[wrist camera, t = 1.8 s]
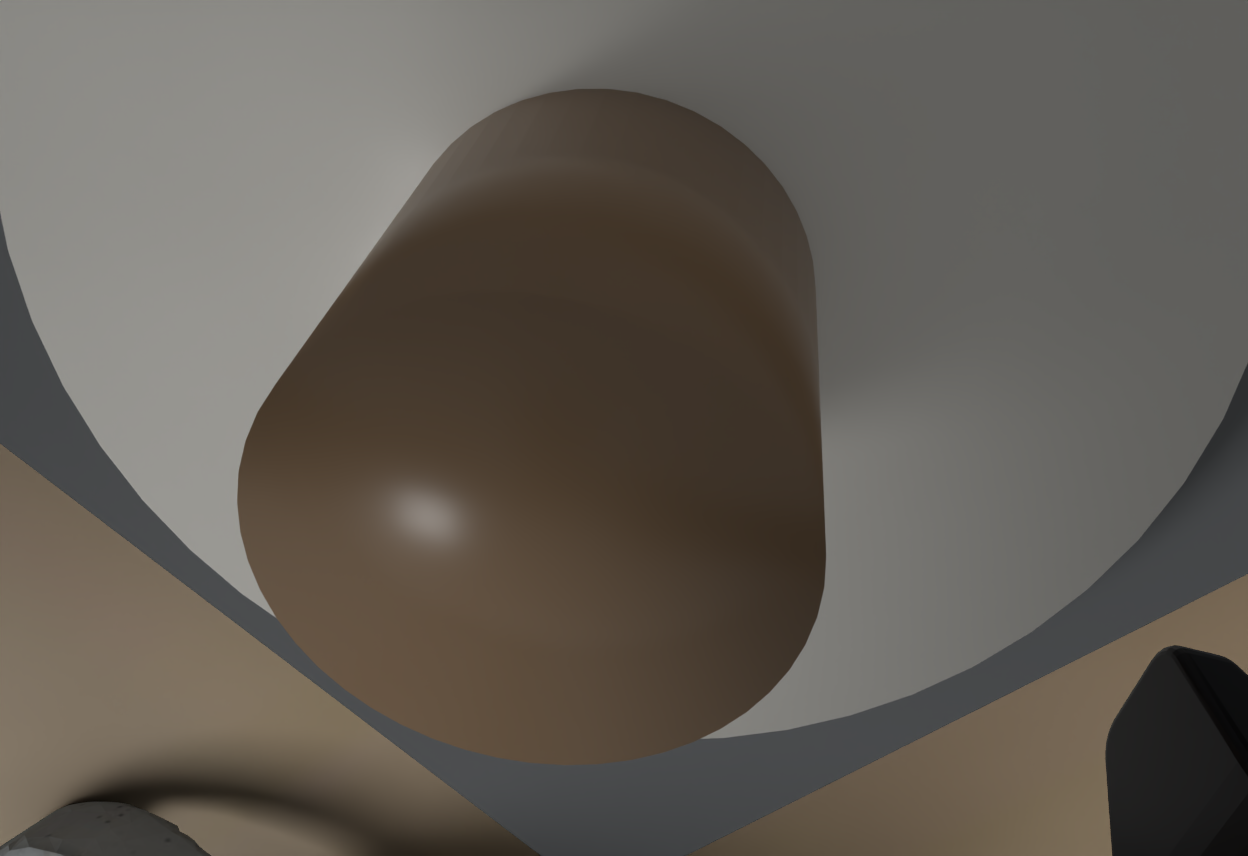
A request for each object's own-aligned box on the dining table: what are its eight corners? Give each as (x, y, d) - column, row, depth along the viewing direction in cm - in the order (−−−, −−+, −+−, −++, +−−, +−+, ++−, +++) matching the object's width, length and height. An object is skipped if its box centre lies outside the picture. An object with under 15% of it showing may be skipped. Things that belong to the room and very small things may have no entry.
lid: (-159, 196, 13) (-612, 449, 9) (647, -964, 8) (472, -1722, 3) (602, 806, 17) (541, 1182, 13) (1488, 317, 12) (1885, 689, 7)
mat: (-288, 156, 14) (-344, 181, 13) (677, -1430, 7) (666, -1540, 6) (605, 855, 19) (598, 899, 18) (1667, 299, 12) (1719, 336, 11)
